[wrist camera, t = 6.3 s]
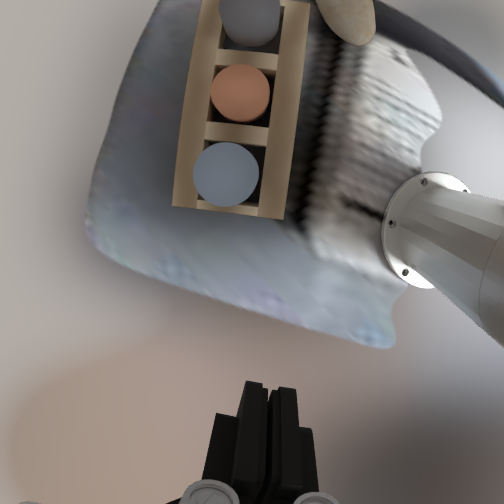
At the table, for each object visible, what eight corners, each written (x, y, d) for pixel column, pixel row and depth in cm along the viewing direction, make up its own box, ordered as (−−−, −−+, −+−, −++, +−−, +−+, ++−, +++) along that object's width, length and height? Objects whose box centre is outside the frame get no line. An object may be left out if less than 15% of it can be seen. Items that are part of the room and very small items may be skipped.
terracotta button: (272, 79, 27) (273, 67, 23) (265, 127, 28) (265, 121, 24) (221, 74, 27) (215, 62, 23) (214, 121, 28) (207, 115, 24)
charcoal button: (281, 6, 22) (283, -14, 19) (275, 49, 24) (276, 33, 20) (228, 2, 23) (223, -18, 19) (220, 45, 24) (214, 28, 20)
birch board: (306, 16, 25) (310, 3, 22) (281, 214, 31) (283, 219, 28) (208, 7, 25) (203, -6, 23) (180, 201, 31) (171, 205, 28)
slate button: (262, 148, 26) (261, 146, 22) (255, 204, 28) (253, 210, 24) (206, 142, 26) (196, 139, 22) (200, 197, 28) (189, 202, 24)
